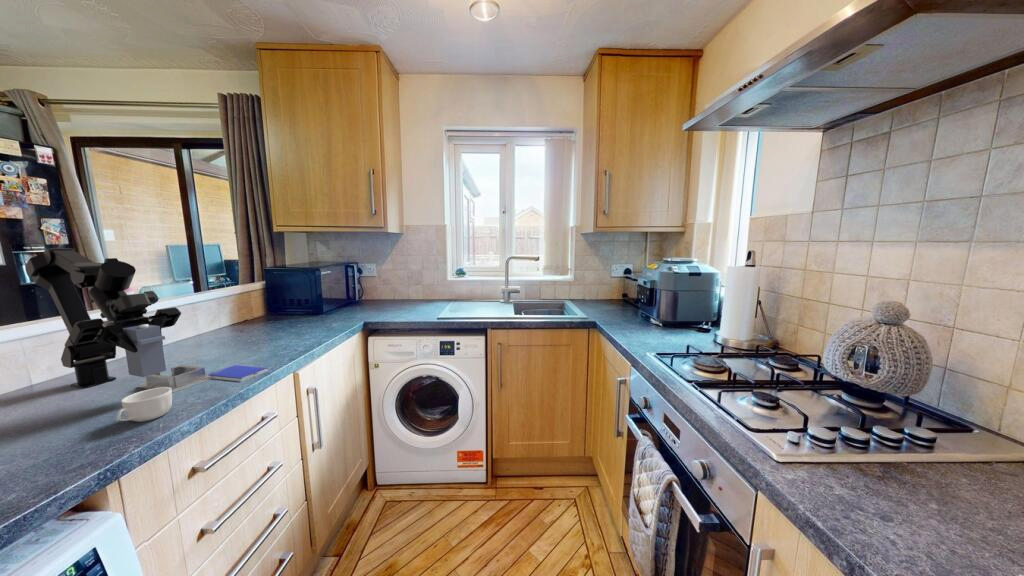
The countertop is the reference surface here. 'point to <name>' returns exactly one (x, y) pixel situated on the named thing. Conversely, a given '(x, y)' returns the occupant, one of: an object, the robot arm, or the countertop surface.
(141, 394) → the teacup
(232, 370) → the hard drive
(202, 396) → the countertop surface
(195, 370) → the chassis
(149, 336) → the block
